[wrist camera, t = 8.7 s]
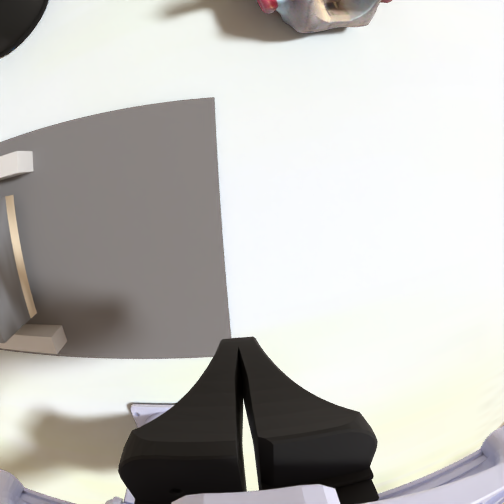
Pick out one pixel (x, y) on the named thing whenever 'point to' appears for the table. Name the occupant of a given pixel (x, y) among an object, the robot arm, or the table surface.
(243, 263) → the table surface
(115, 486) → the table surface
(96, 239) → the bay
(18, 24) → the aerosol can
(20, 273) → the grey beige angular piece
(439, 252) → the table surface
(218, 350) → the robot arm
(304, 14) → the brake caliper
